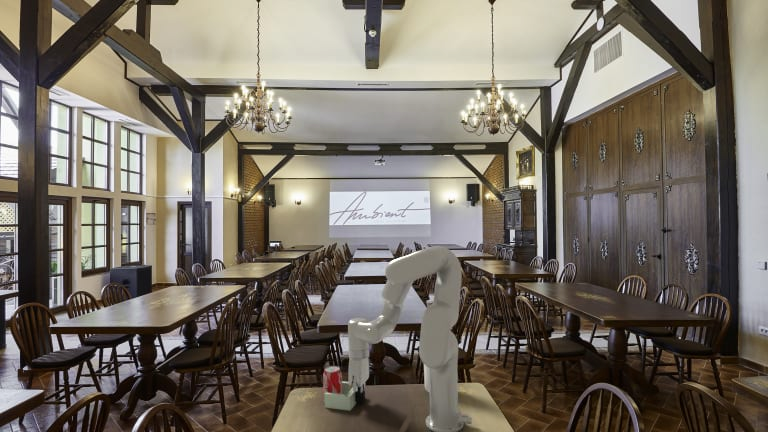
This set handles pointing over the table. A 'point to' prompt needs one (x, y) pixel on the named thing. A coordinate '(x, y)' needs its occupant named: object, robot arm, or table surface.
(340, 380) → the soda can
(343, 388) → the collar
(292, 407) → the table surface
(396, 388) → the table surface
